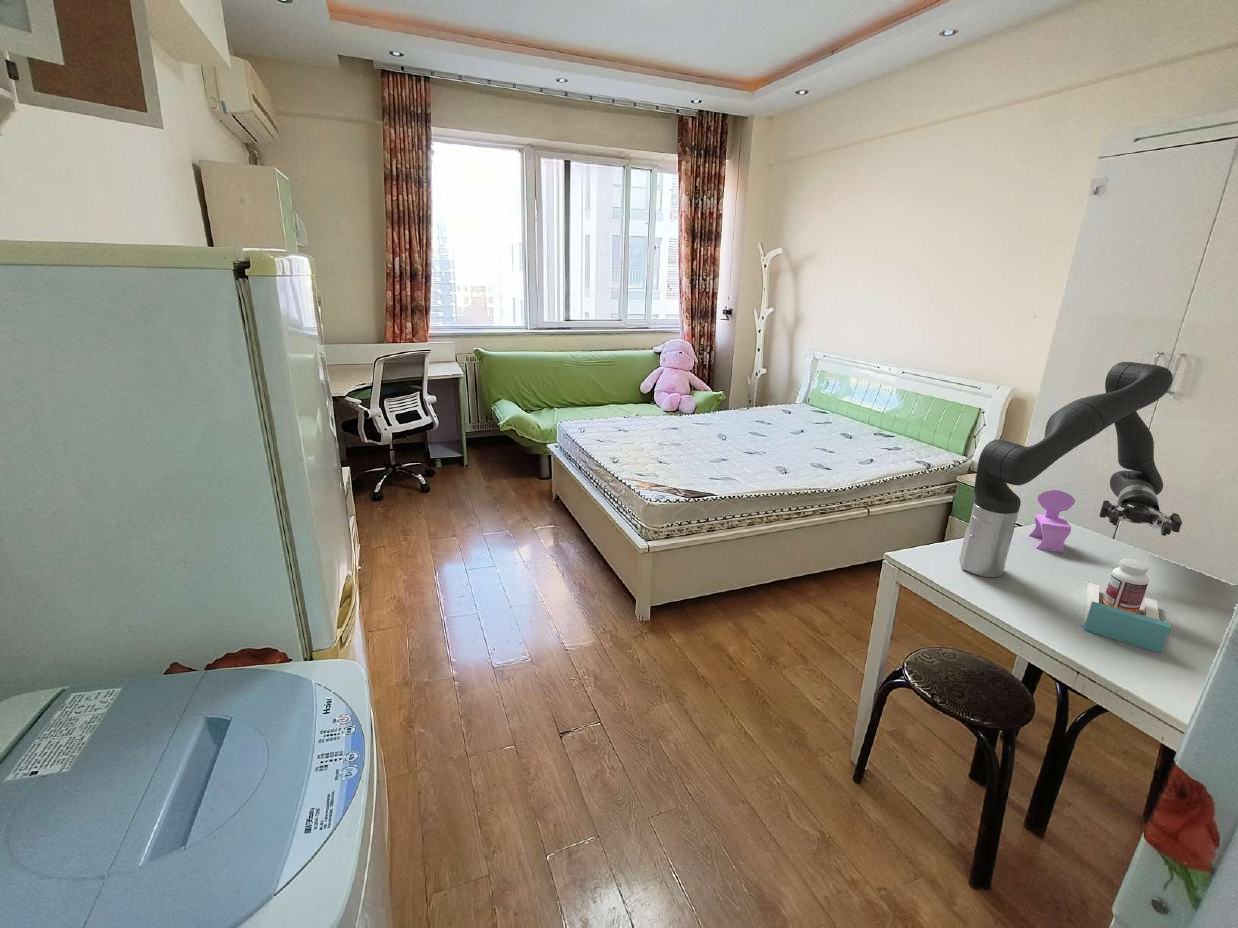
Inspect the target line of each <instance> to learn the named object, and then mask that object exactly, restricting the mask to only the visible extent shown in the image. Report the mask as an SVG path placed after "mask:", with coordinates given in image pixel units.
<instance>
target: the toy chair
mask: <svg viewBox="0 0 1238 928" xmlns="http://www.w3.org/2000/svg"><path fill="white" fill-rule="evenodd" d="M1036 500H1037V502H1038V504H1039V505H1040V506H1041V508H1043V509H1045V510H1044V514H1040V513H1036V514H1035V517H1034V521H1035V527H1034V529H1033V530H1032V531H1031V532H1030V533H1029V534H1028V536H1029V537H1034V538H1041V539H1042V540H1041V542H1040V543H1039V544H1038V545H1037V546H1036V547H1035V548H1036V549H1037V550H1044V551H1051V552H1057V553H1065V547H1064V546H1065V545H1064V544H1065V541H1066V540H1067V538H1068V537H1069V536H1070V534H1071V532H1072V526H1071V525H1070V523H1069V522H1068V521H1067V519H1066V518H1065V517H1062V516H1060V513H1061V512H1065V511H1068V510H1069V509H1070V508H1072V507H1073V506H1074V505H1075V502H1076V500H1075V497H1073V496H1072V495H1071V494H1069V493H1068V492H1066V491H1063V490H1058V489H1049V490H1046V491H1043V492H1041V493H1039V494H1038V496H1037V498H1036Z"/></svg>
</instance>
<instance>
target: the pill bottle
mask: <svg viewBox="0 0 1238 928" xmlns="http://www.w3.org/2000/svg"><path fill="white" fill-rule="evenodd" d="M1148 571H1149V566H1148V565H1147V564H1146V563H1144V562H1142V561H1140V560H1137V559H1132V558H1122V559H1120V561H1119V564H1118V567H1115V568H1114V569H1113V570H1112V572H1111V575H1110V578H1109V580H1108V584H1107V587H1106V590H1105V594H1104V597H1103V604H1104V605H1107V606H1111V607H1115V608H1118V609H1122V610H1125V611H1129V612H1133V613H1136V614H1138V613H1139V611H1140V608H1141V607H1142V604H1143V601H1144V598H1145V596H1146V595H1145V594H1146V592H1147V589H1148V585H1149V582H1150V578H1149V576H1148V575H1147V573H1148Z"/></svg>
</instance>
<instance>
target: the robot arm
mask: <svg viewBox="0 0 1238 928" xmlns="http://www.w3.org/2000/svg"><path fill="white" fill-rule="evenodd" d="M1173 375H1174V374H1173V372H1172V371H1171V370H1170V369H1168V368H1167V367H1164V366H1162V365H1158V364H1151V363H1142V362H1135V361H1134V362H1133V361H1121V362H1117V363H1116V364H1115V365H1112V367H1111V368H1110V369H1109V370H1108V372H1107V374H1106V377H1105V381H1104V387H1105V388H1104V390H1105V393H1100V394H1094V395H1090V396H1085V397H1081V398H1080V399H1079V398H1078V399H1076V400H1073V401H1071V402H1070V403H1068V404H1066V405H1064V406H1063V407H1061V408H1059V409H1057V411H1055V412H1054V413H1052V414H1051V415H1050V416H1049V418H1048V420H1047V422H1046V425H1045V430H1044V437H1043V439H1041V440H1040V441H1038V442H1037V443H1035V444H1032V445H1030V446H1025V445H1023V444H1022V445H1021V444H1019V443H1014V442H1011V441H1007V440H1004V439H1001V438H1000V439H993V440H991V441H989V442H987V444H986V445H985V446H984V447H983V449H982V451H981V453H980V455H979V458H978V462H977V467H976V473H975V481H974V486H973V494H974V502H973V506H972V510H971V515H970V517H969V518H970V519H969V523H968V526H966V527H965V532H964V536H963V539H962V540H963V541H962V545H961V550H960V555H959V563H960V568H961V570H962V571H967V572H968V573H971V574H974V575H977V576H980V577H985V578H998V577H1001V576H1002V575H1003V574H1004V572H1005V571H1004V570H1005V568H1006V563H1007V560H1008V555H1009V551H1010V548H1011V547H1010V546H1011V543H1012V539H1013V536H1014V531H1015V527H1016V523H1017V519H1018V515H1019V512H1020V508H1021V505H1022V504H1021V503H1022V502H1021V498H1020V497H1019V496H1018V494H1016V493H1015V492H1014V491H1013V490H1012V489H1011V488H1010V487H1009V486H1008V485H1011V486H1022V485H1026V484H1028V483H1030V482H1031V481H1033V480H1034V479H1036V478H1037V477H1038V476H1039V475H1040V474H1042V473H1043V472H1045V471H1046V470H1047V469H1048V468H1049V467H1051V466H1052V465H1053V464H1054V463H1055V462H1057V461H1058V460H1059V459H1060V458H1062V457H1063V456H1065V455H1066V454H1068V453H1069V452H1071V451H1072V450H1074V449H1076V448H1077V447H1079V446H1080V445H1081V444H1084V443H1085V442H1087V441H1088V440H1091V439H1092V438H1093V437H1095V436H1097V435H1098V434H1100V433H1101V432H1102V431H1104V430H1105V429H1107V428H1108V427H1110V426H1111V425H1113V424H1114V427H1115V432H1116V439H1117V462H1118V464H1119V466H1120V467H1121V468H1123V469H1125V470H1119V471H1116V472H1114V473H1113V474H1112V475H1111V476H1110V478H1109V486H1110V489H1111V491H1112V494H1114V495H1115V496H1116V497H1117V501H1116V504H1117V505H1115V504H1112V503H1110V501H1109V500H1103V501H1102V505H1101V508H1100V512H1099V518H1103V519H1105V518H1106V517H1107V518H1108V520H1109V521H1108V522H1109V523H1110V524H1112V526H1115V527H1116V526H1117V525H1118V523H1119V522H1125V521H1127V522H1129V523H1132V524H1144V525H1145V524H1146V525H1148V527H1152V529H1158V530H1160V534H1161V536H1163V537H1166V536H1167V535H1171V533H1172V532H1173V533H1180V530H1181V528H1182V527H1181V526H1182V525H1183V521H1182V518H1181V516H1180V515H1179V514H1178V513H1176V512H1173V513H1171V514H1169V515H1168V514H1164V513H1163V512H1162V511H1160V504H1159V499H1158V495H1160V493H1161V492H1162V491H1163V488H1164V482H1163V478H1162V476H1161V475H1160V473H1159V471H1158V468H1157V466H1156V464H1155V463H1156V462H1155V457H1154V456H1155V448H1154V447H1155V441H1154V437H1153V435H1152V432H1151V430H1150V429H1149V427H1148V426H1147V425H1146V423H1145V422H1144V420H1143V419H1142V418H1141V416H1140V414H1139V413H1138V412H1137V411H1140V410H1142V409H1143V408H1145V407H1147V406H1150V405H1152V404H1153V403H1155V402H1157V401H1159V400H1160V399H1161V398H1162V397H1163V396H1164V395H1166V393H1167V392H1168V391H1169V390H1170V388H1171V386H1172V383H1173V380H1174V378H1173V377H1174V376H1173Z"/></svg>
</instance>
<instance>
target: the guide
mask: <svg viewBox="0 0 1238 928" xmlns="http://www.w3.org/2000/svg"><path fill="white" fill-rule="evenodd" d="M1142 608H1143V614H1140V613H1133V612H1129V611H1125V610H1122V609H1118V608H1115V607H1111V606H1107V605H1105V604H1104V603H1101V602H1100V585H1099V584H1094V583H1091V582H1088V583H1087V586H1086V595H1085V608H1084V609H1085V610H1084V621H1083V622H1084V624H1083V630H1084V631H1087V632H1089V633H1093V634H1096V635H1100V636H1103V637H1107V638H1110V639H1114V640H1117V641H1118V642H1119V641H1120V642H1123V643H1126V644H1129V645H1133V646H1136V647H1140V648H1142V649H1146V650H1148V651H1149V650H1150V651H1153V652H1156V653H1159V654H1161V653H1162V650H1163V648H1164V646H1165V643H1166V640H1167V637H1168V635H1169V633H1170V629H1171V623H1170V622H1169V621H1164V620H1161V619H1160V615H1159V614H1160V613H1159V608H1158V601H1157V599H1153V598H1148V597H1144V598H1143V601H1142Z"/></svg>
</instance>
